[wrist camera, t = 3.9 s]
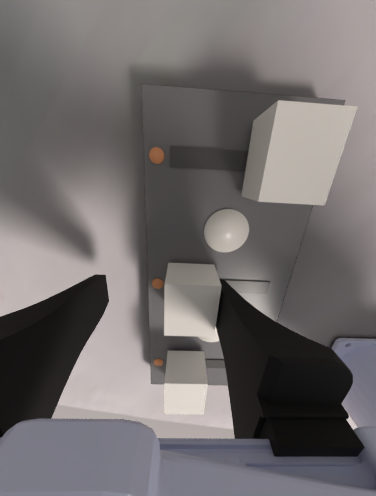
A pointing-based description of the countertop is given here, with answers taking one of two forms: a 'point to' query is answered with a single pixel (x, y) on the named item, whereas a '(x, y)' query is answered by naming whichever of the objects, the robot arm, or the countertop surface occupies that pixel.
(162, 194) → the switch panel
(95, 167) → the countertop surface
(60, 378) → the robot arm
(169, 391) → the switch
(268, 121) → the switch
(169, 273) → the switch
